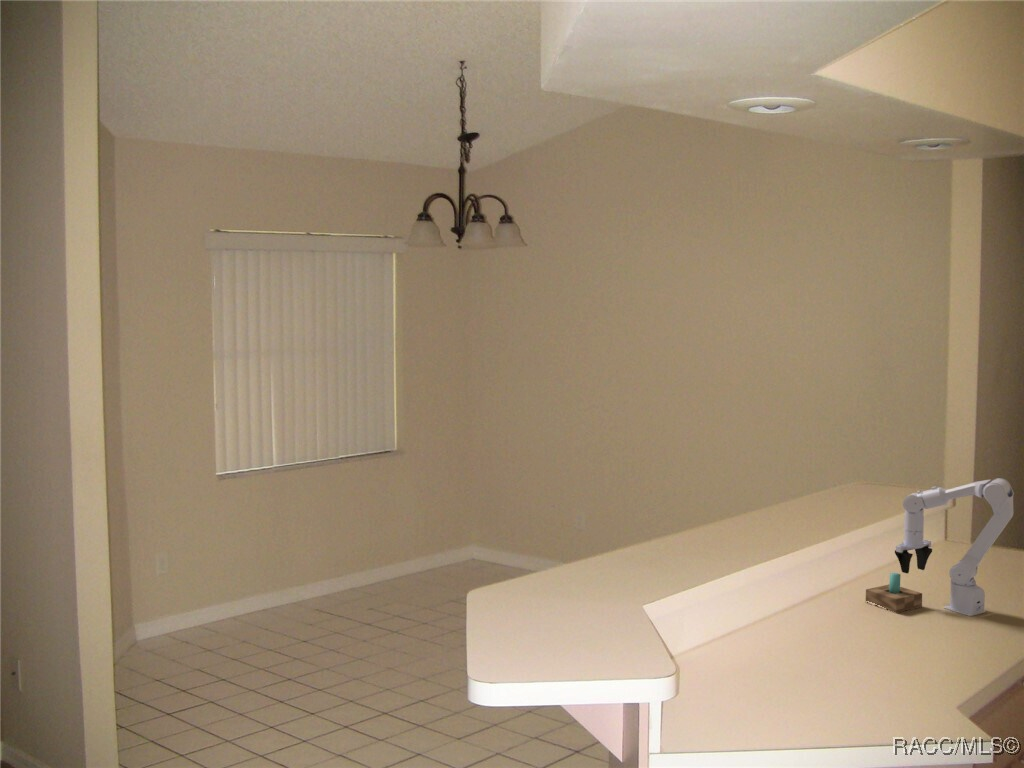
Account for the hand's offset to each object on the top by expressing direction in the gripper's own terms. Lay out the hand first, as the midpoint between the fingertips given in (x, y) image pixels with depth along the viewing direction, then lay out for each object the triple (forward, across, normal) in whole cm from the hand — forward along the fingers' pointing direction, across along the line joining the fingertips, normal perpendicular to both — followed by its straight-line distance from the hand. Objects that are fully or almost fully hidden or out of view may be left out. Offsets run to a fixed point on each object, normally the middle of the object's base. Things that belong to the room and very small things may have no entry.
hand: (913, 571), depth 308 cm
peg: (+9, +9, 0) cm, 12 cm away
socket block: (+10, +9, 0) cm, 13 cm away
